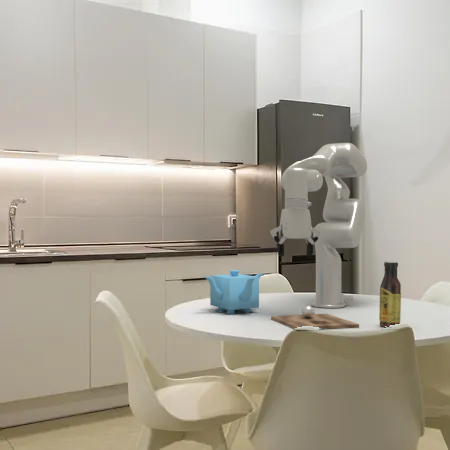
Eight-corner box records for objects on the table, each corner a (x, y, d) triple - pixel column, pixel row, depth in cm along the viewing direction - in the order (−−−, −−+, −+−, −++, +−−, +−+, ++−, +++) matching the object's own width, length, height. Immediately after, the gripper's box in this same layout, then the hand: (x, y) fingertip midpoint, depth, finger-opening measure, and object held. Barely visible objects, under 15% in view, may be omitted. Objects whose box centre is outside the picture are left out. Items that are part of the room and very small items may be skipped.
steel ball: (311, 316, 202) (311, 304, 202) (316, 318, 198) (316, 306, 198) (299, 317, 200) (299, 305, 200) (304, 319, 197) (304, 306, 197)
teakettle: (216, 307, 231) (216, 267, 231) (266, 309, 227) (266, 268, 226) (201, 314, 213) (201, 271, 213) (255, 316, 208) (255, 272, 208)
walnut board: (326, 316, 209) (326, 313, 209) (359, 327, 188) (359, 324, 188) (271, 319, 203) (271, 316, 203) (298, 330, 182) (298, 327, 182)
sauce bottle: (376, 324, 193) (376, 260, 192) (396, 324, 193) (396, 260, 193) (383, 328, 186) (383, 262, 186) (404, 328, 187) (404, 262, 186)
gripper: (316, 206, 213) (315, 256, 212) (268, 204, 209) (267, 255, 209) (324, 205, 205) (323, 257, 205) (274, 203, 202) (273, 256, 202)
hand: (295, 256), depth 207 cm, fingers open, 9 cm apart
